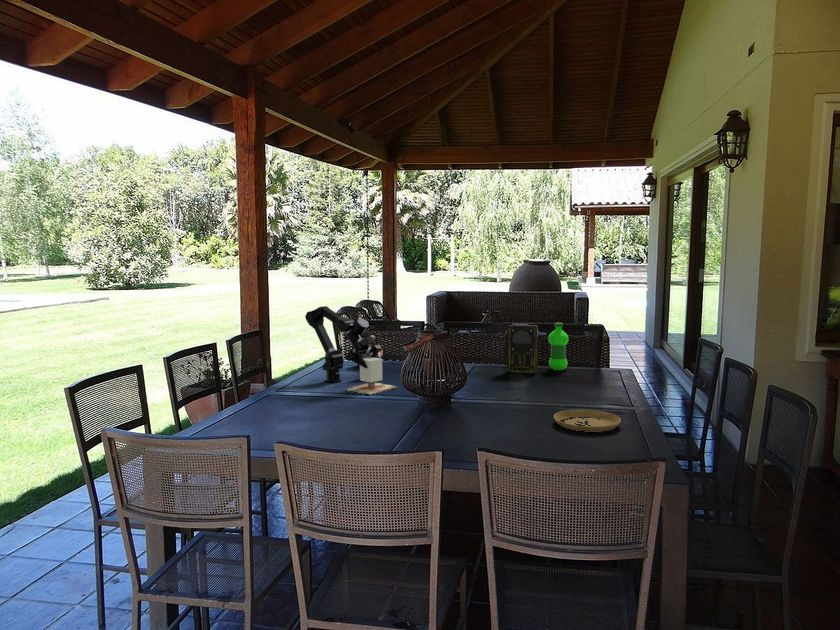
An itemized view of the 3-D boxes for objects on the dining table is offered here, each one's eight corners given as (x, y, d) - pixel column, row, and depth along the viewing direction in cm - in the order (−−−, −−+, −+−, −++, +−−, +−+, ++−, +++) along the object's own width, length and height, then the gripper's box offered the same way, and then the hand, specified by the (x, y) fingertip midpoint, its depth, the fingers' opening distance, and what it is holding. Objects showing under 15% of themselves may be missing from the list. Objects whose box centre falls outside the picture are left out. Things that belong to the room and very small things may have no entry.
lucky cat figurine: (367, 363, 363) (378, 342, 360) (379, 374, 355) (390, 352, 353) (348, 359, 352) (359, 338, 349) (360, 370, 344) (372, 348, 342)
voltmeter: (506, 373, 329) (506, 325, 326) (509, 370, 337) (509, 323, 335) (536, 374, 325) (537, 326, 322) (538, 371, 333) (539, 324, 330)
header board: (345, 390, 295) (345, 381, 295) (372, 384, 309) (372, 375, 308) (370, 395, 285) (369, 386, 284) (397, 388, 298) (396, 379, 298)
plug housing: (370, 382, 291) (370, 361, 290) (360, 380, 296) (359, 359, 295) (382, 379, 296) (382, 358, 295) (371, 377, 301) (371, 357, 300)
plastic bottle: (544, 368, 339) (545, 322, 337) (562, 367, 343) (562, 321, 340) (554, 372, 330) (554, 324, 327) (571, 370, 333) (572, 323, 330)
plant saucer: (571, 413, 251) (571, 405, 251) (630, 423, 236) (631, 415, 236) (541, 427, 233) (541, 419, 232) (604, 439, 218) (604, 430, 217)
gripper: (349, 332, 289) (366, 358, 283) (378, 328, 303) (395, 353, 297) (338, 347, 296) (354, 373, 289) (367, 342, 309) (384, 367, 303)
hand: (372, 366), depth 295 cm, fingers closed on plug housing, 7 cm apart
